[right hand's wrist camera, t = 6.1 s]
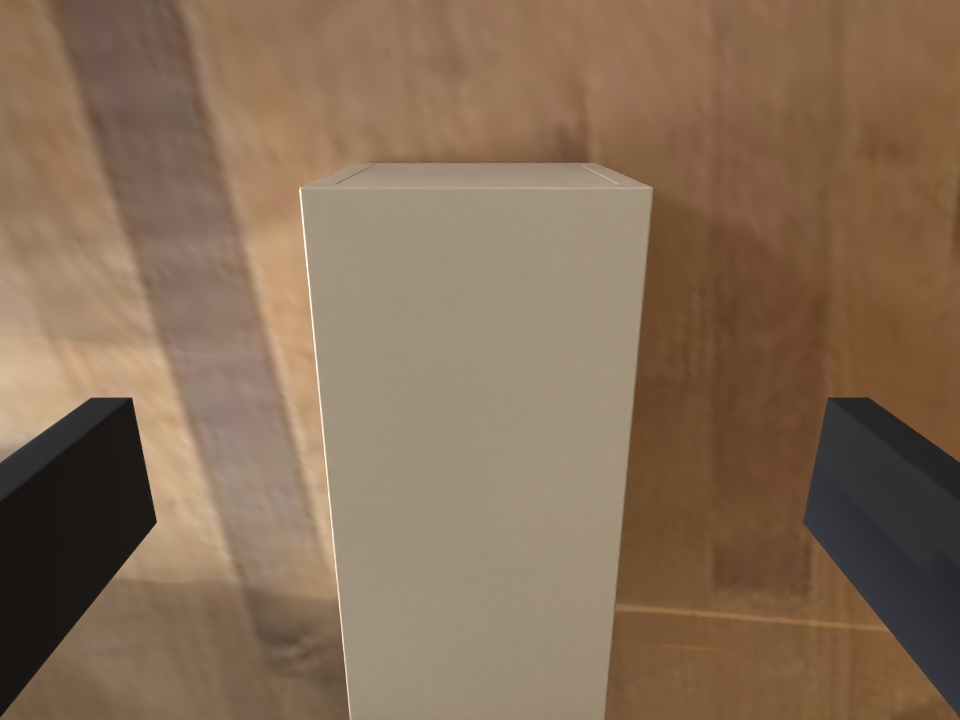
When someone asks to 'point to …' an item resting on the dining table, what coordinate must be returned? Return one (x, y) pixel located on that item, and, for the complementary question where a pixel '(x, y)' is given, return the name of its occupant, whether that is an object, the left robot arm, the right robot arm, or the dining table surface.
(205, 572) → the dining table surface
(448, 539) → the cabinet
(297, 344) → the dining table surface
